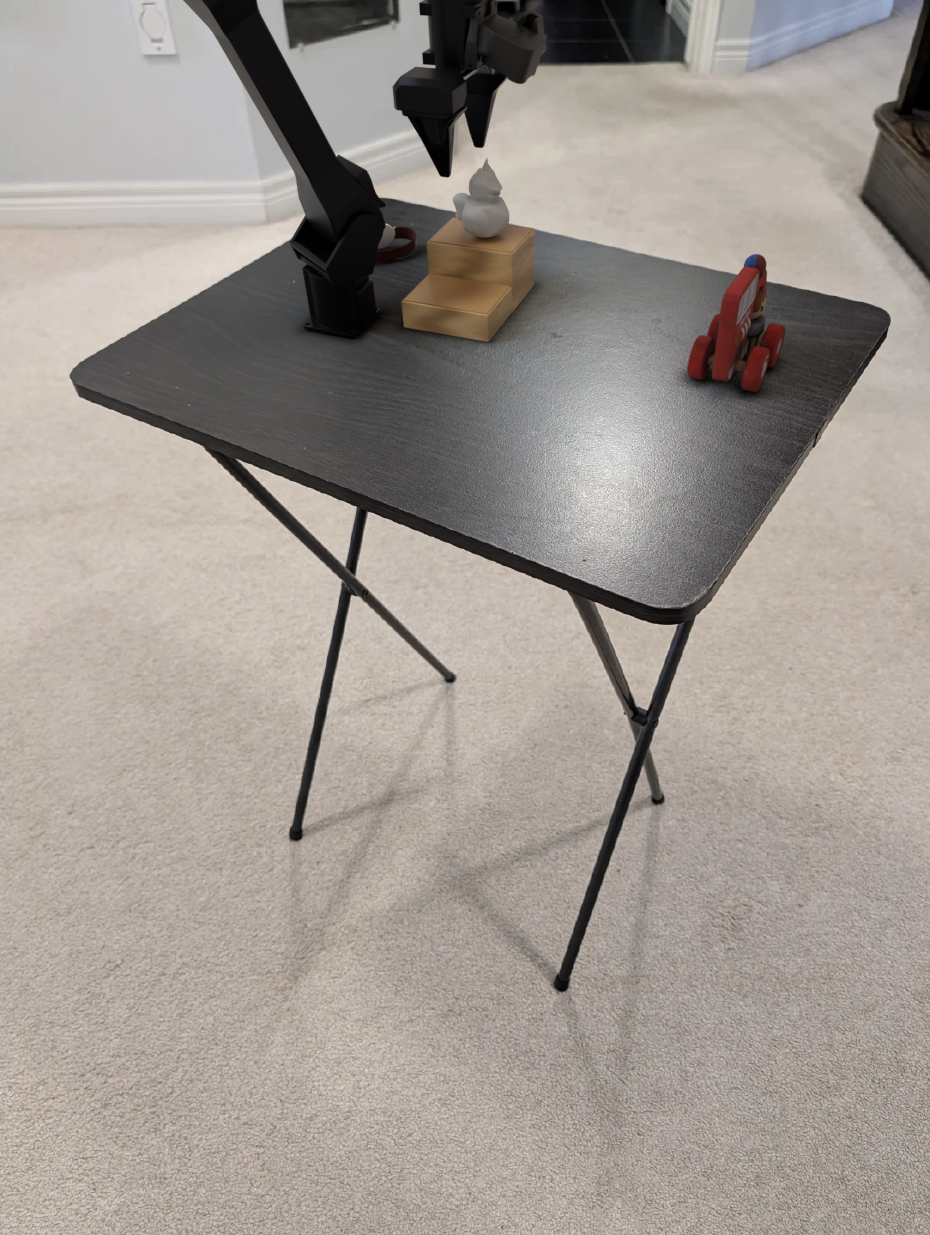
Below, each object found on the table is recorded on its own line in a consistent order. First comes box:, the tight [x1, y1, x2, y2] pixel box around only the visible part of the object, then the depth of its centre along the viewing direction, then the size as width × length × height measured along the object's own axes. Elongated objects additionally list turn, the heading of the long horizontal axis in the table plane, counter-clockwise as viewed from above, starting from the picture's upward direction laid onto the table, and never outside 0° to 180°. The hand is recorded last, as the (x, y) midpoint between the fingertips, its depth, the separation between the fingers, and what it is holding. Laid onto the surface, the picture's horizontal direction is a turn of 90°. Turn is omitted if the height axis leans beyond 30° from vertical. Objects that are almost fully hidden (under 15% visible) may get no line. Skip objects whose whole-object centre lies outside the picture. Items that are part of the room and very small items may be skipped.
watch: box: [375, 223, 417, 263], centre depth 109 cm, size 8×5×4 cm, turn 115°
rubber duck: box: [452, 157, 510, 238], centre depth 94 cm, size 5×7×8 cm
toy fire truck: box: [686, 253, 786, 393], centre depth 84 cm, size 7×12×10 cm, turn 151°
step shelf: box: [401, 216, 536, 343], centre depth 97 cm, size 10×14×7 cm
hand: (462, 161), depth 95 cm, fingers open, 9 cm apart
